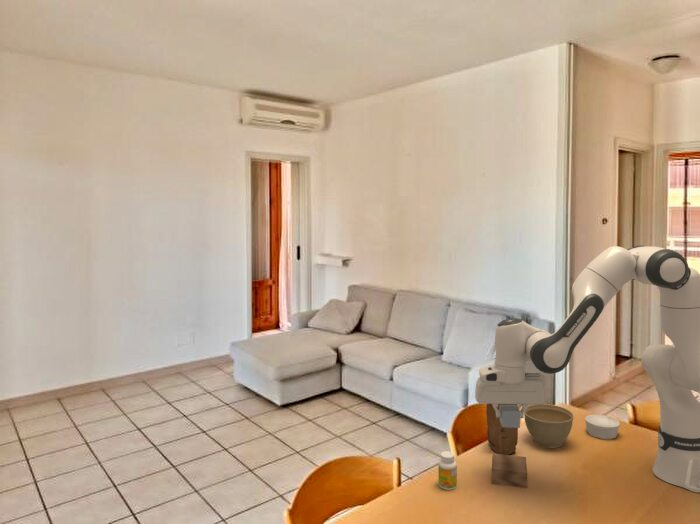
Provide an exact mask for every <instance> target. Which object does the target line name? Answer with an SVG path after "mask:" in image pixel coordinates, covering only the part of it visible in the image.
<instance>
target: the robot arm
mask: <svg viewBox="0 0 700 524" xmlns="http://www.w3.org/2000/svg"><path fill="white" fill-rule="evenodd" d="M632 280H633V281H637V282H639V283H642V284H645V285H652V286H656V287H657V288H658V289H659V294H660V295H659V309H660V311H659V313H660V328H661V331H662V332H663V334H664V335H666V337H667V338H668V339H669V340H670V341H671V343H672V344H673V345H670V344H665V343H664V344H661V343H657V344H656V343H655V344H649V345H648V346H647V347H646V348H645V349H644V350H643V352H642V354H641V360H640V361H641V366H642V369H643V370H644V371H645V372H646V373H647V374H648V376H649V377H650V379H651V381H652V383H653V384H654V387H655V389H656V392H657V395H658V396H657V397H658V400H659V410H660V411H659V412H660V413H659V414H660V416H659V418H660V419H659V421H660V422H659V423H660V424H659V426H658V431H657V432H658V433H657V445H658V446H657V449H658V450H657V454H656V458H655V461H654V464H653V466H652V469H651V471H652V473H653V474H654V475H655V476H656V477H657V478H659V479H660V480H662V481H663V482H666V483H668V484H671V485H673V486H676V487H677V486H678V487H681V488H684V489H687V491H691V492H693V493H700V401H699V400H698V398H696V396H695V395H694V393H693V392H696V393H699V394H700V273H699V271H697V270H696V269H694V268H692V267H690V266H689V264H688V261H687V260H686V258H685V257H684V256H683V255H682V254H681V253H679V252H677V251H675V250H673V249H669V248H668V249H667V248H664V247H660V246H655V245H654V246H648V245H635V246H631V247H629V248H627V249H626V248H624V247H622V246H617V245H612V246H610V247H608V248H606V249H605V250H603V251H602V252H601V253H599V254H598V255H597V256H596V257H594V258H593V259H592V260H591V261H590V262H589V263H588V264H587V265H586V266H585V267H584V269H583V270H581V272H579V274H578V276H577V277H576V278H575V280H574V282H573V284H572V288H571V294H572V296H573V303H574V304H573V308H572V310H571V312H570V313H569V315H567V316H566V318H565V319H564V321H563V322H562V324H560V326H559V327H558V328H557V329H556V331H555V332H553V333H551V332H549V331H547V330H545V329H543V328H539V327H535V326H533V325H531V324H529V323H527V322H526V321H524V320H523V319H522V318H514V317H512V318H506V319H503V320H501V321H500V322H499V323H497V325H496V328H495V332H494V333H495V336H494V350H495V351H494V352H495V358H494V364H492V365H488V366H485V367H481V368H480V369H478V371H479V377H478V378H477V380H476V384H475V391H474V393H475V394H474V398H475V401H476V402H477V403H478V404H481V405H482V404H485V405H487V404H492V405H493V408H494V409H495V411H496V417H497V418H502V416H501V415H502V412H501V410H498V409H497V408H496V407H498V404H517V405H521V409H519V410H520V419H525V415H524V412H525V411H526V409H527V408H528V406H529V405H543V404H546V392H545V386H546V385H547V383H546V376H545V375H543V374H541V373H540V372H542V373H544V374H551V375H552V374H553V375H554V374H557V373H560V372H561V371H563V370H565V369H566V367H567V366H568V364H569V362H570V360H571V358H572V354H573V353H574V350H575V349H576V347H577V345H578V344H579V343H580V342H581V340H582V339H583V337H585V335H586V334H587V332H589V330H590V328H592V326H593V325H594V324H595V322H596V321H597V320H598V318H599V317H600V315H601V314H602V313H603V310H604V309H605V308H606V306H607V305H608V304H609V303H610V301H612V299H613V298H614V297H615V296H616V295H617V294H618V293H619V291H620V290H621V289H622V288H623V287H624V286H625V284H627V283H629V282H630V281H632ZM527 361H529V362H530V361H531V363H532V364H533V366H535V368H536V369H537V370H538V371H540V372H536V373H535V372H526V362H527Z"/></svg>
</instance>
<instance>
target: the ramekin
mask: <svg viewBox="0 0 700 524" xmlns="http://www.w3.org/2000/svg"><path fill="white" fill-rule="evenodd" d="M584 422H585V426H586V430H587V433H588V434H589V435H590V436H591V437H594V438H596V439H599V440H613V438H614V439H615V438H616V437H617V436H618V432H619V428H620V426H621V423H620V421H619V420H618V419H616V418H614V417H612V416H608V415H604V414H589V415H587V416H585V417H584Z"/></svg>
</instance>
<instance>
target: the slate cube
mask: <svg viewBox="0 0 700 524" xmlns="http://www.w3.org/2000/svg"><path fill="white" fill-rule="evenodd" d="M500 410H501V412H502V415H501V416H502V418H500V422H501V425H502V427H509V428H518V429H519V428H520V429H521V418H520V410H521V409H520V408H519V407H518V404H517V405H500Z"/></svg>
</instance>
